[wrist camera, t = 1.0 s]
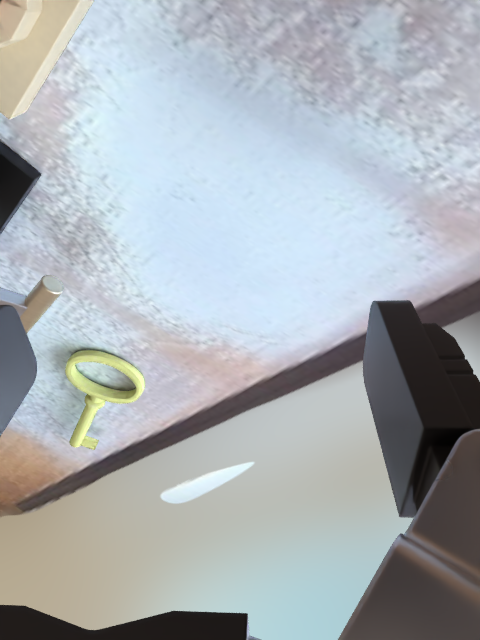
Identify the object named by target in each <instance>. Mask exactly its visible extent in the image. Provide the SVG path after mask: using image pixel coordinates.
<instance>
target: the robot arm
mask: <svg viewBox="0 0 480 640" xmlns="http://www.w3.org/2000/svg"><path fill="white" fill-rule="evenodd" d="M36 374H37V361H36V357H35V355H34V352H33V349H32V347H31V344H30V342H29V339H28V337H27V334H26V332H25V329H24V327H23V324H22V322H21V319H20V316H19V314H18V312H17V310H16V309H15V308H14V307H13V306H11V305H0V436H1V434H2V433H3V431H4V430H5V428H6V427H7V425H8V423H9V422H10V420H11V419H12V417H13V415H14V414H15V412H16V411H17V409H18V407H19V406H20V404H21V403H22V401H23V399H24V398H25V396H26V395H27V393H28V392H29V390H30V388H31V387H32V385H33V383H34V381H35V378H36ZM363 376H364V383H365V387H366V391H367V395H368V398H369V403H370V406H371V410H372V414H373V418H374V422H375V425H376V429H377V433H378V437H379V440H380V445H381V448H382V452H383V456H384V460H385V464H386V468H387V471H388V475H389V479H390V483H391V486H392V490H393V494H394V498H395V502H396V506H397V510H398V513H399V517H413V518H414V519H413V521H412V523H411V524H410V526H409V528H408V529H407V531H406V532H405V534H404V535H403V534H400V535H399V536H398V537H397V538H396V540H395V541H394V542H393V544H392V546H391V547H390V549H389V551H388V552H387V554H386V556H385V558H384V559H383V561H382V563H381V565H380V566H379V568H378V570H377V572H376V574H375V575H374V577H373V579H372V580H371V582H370V584H369V586H368V588H367V589H366V591H365V593H364V595H363V596H362V598H361V600H360V602H359V604H358V606H357V607H356V609H355V611H354V612H353V614H352V616H351V618H350V619H349V621H348V623H347V625H346V626H345V628H344V630H343V632H342V633H341V635H340V637H339V639H338V640H480V382H479V380H478V378H477V376H476V375H474V374H473V369H472V368H471V366H470V364H469V362H468V361H467V360H465V356H464V354H463V352H462V350H461V348H460V347H459V346H458V343H457V342H456V340H455V338H454V337H452V336H451V335H450V334H449V333H447V332H446V331H445V330H443V329H442V328H441V327H440V326H438V325H437V324H436V323H432V324H422V323H421V320H420V318H419V316H418V314H417V312H416V310H415V308H414V306H413V304H412V303H411V302H410V301H409V300H407V301H373V302H372V305H371V308H370V314H369V321H368V328H367V335H366V343H365V350H364V357H363ZM0 640H260V639H257V638H254V637H252V636H250V635H249V625H248V614H246V613H216V612H187V611H171V612H167V613H164V614H159V615H156V616H152V617H148V618H144V619H140V620H136V621H132V622H128V623H124V624H120V625H116V626H112V627H108V628H104V629H100V630H87V629H84V628H81V627H78V626H76V625H73V624H71V623H68V622H65V621H63V620H60V619H57V618H55V617H52V616H50V615H47V614H45V613H42V612H40V611H37V610H34V609H32V608H29V607H26V606H15V605H0Z"/></svg>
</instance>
